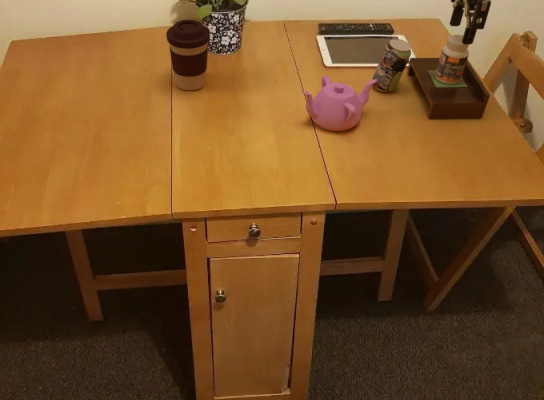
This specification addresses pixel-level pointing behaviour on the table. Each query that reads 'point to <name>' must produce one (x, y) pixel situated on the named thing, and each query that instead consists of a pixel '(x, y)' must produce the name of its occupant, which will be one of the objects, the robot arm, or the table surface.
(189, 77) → the coffee cup
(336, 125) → the teapot
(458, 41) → the pill bottle
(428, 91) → the shelf
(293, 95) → the table surface
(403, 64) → the beverage can
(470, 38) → the robot arm
